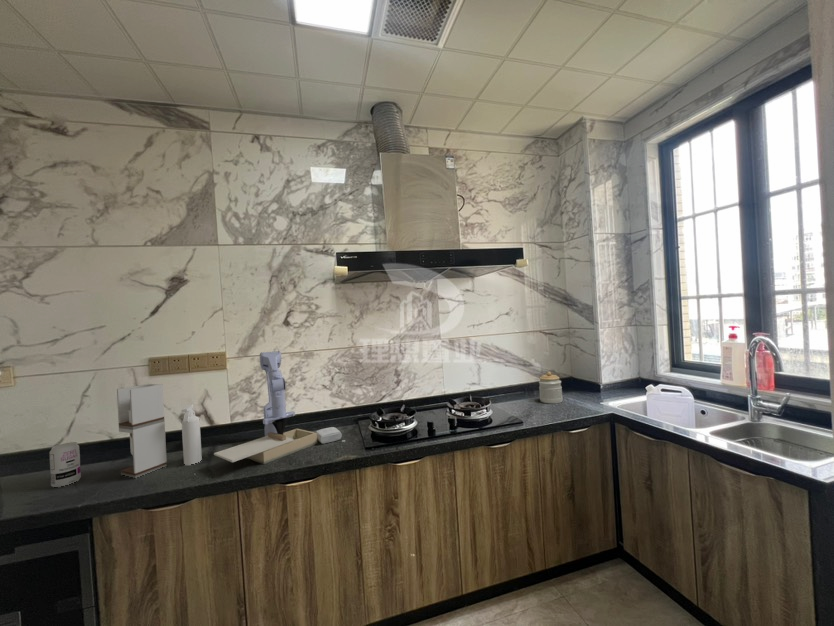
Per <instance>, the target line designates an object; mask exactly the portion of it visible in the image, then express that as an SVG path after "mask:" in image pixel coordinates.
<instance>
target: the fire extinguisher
mask: <svg viewBox="0 0 834 626" xmlns="http://www.w3.org/2000/svg"><path fill="white" fill-rule="evenodd" d="M194 408H195V407H194V404H193V403H189V404H186V405H185V407H183V408H182V409H181V413H184V415H183V419H182V421H181V433H182V434H181V436H182V437H181V438H182V450H183V451H182V454H183V465H184V464H185V465H184V466H192V465H191V464H194V465H196V464H195V463H197V464H199V463H201V462H202V461H203V458H202V456H203V453H202V440H201V439H202V436H201V422H200V418H199V416H196V411H195V410H194ZM201 460H202V461H201ZM200 461H201V462H200ZM198 462H199V463H198Z"/></svg>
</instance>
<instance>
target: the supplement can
mask: <svg viewBox="0 0 834 626" xmlns="http://www.w3.org/2000/svg"><path fill="white" fill-rule="evenodd" d="M48 453H49V470H50V486H51V487H52V488H54V487H58V488H62V487H61V486H64V487H66V486H65V485H68V486H70V485H69V484H71V483H73V484H75V483H74V482H76V481H77V482H79V480H80V479H81V477H82V476H81V475H82V474H81V454H80V453H81V452H80V445H79V444H78V442H76V441H75V442H73V441H70V442H66V443H62V444H58V445H55V446H52V447H51V450H50V451H49V452H48ZM77 482H76V483H77ZM71 485H72V484H71Z"/></svg>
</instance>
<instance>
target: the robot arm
mask: <svg viewBox="0 0 834 626" xmlns="http://www.w3.org/2000/svg"><path fill="white" fill-rule="evenodd" d="M259 364H260V369H261V370H262V371H264V372H265V375H266V382H267V383H266V384H267V392H268V403H267V404H266V405H264V407H263V419H262V424H263V425H264V426H263V427H264V437H265V436H268V433H269V432H273V433H277V434H281V435H283V433H285V429H286V426H287V424H288V421H289V420H288V419H289V418H290V417H294V416H296V411H292V410H291V411H288V412H287V410H286V409H287V408H286V407H287V406H286V405H287V404H286V393H285V391H286V389H287V388H286V387H287V386H286V385H287V383H286V379H285V378H284V376H283V373H282V370H281V369H280V367H281V364H282V353H281V350H276V351H275V350H274V351H266V352H265V351H264V352H260V353H259Z"/></svg>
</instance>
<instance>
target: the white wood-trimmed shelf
mask: <svg viewBox="0 0 834 626" xmlns="http://www.w3.org/2000/svg"><path fill="white" fill-rule="evenodd" d="M116 396H117V397H116V399H117V401H116V402H117V418H118V421H117V422H118V432H121V433H125V434H127V433H128V434H129V445H130V454H131V455H132V457H133V458H132V459H133V460H132V461H133V462H132V463H133V465H131V466H130V467H127V468H124V469H121V470H120V475H121V476H122V475H125V476H124V477H126V476H129V477H128V478H130V477H133V478H132V479H134V478H136V479H138V478H137V477H139V478H141V477H140V476H142V475H144V476H146V475H145V474H147V473H150V472H152V471H155V470H157V469H160V468H162V467H165V466H167V467H168V463H167V461H168V460H167V446H166V445H167V444H166V441H167V440H166V428H165V427H166V425H165V424H166V422H165V407H164V404H165V403H164V388H163V383H146V384H141V385H134V386H133V385H132V386H128V387H123V388H122V387H121V388H117V389H116ZM165 468H166V467H165ZM160 470H161V469H160ZM157 471H158V470H157ZM155 472H156V471H155ZM152 473H153V472H152ZM150 474H151V473H150ZM147 475H148V474H147ZM142 477H143V476H142Z"/></svg>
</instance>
